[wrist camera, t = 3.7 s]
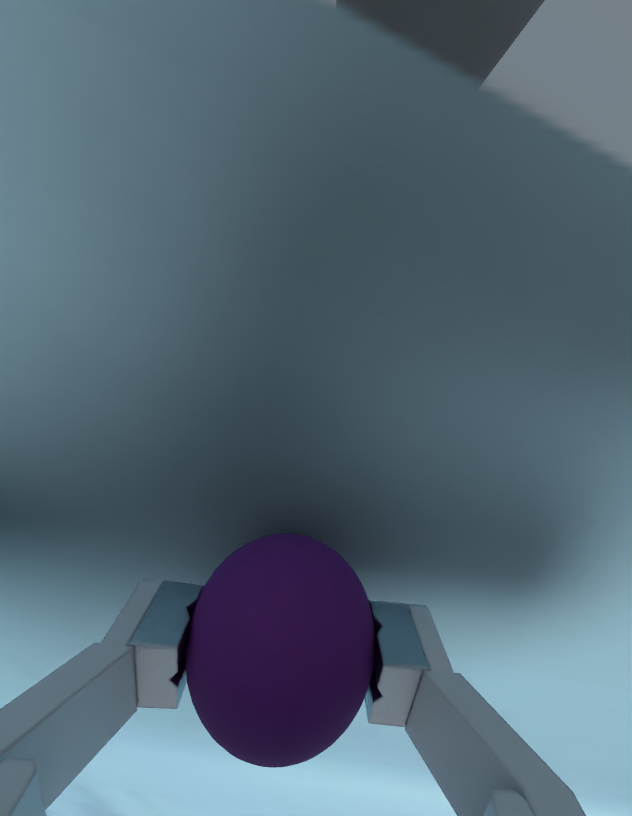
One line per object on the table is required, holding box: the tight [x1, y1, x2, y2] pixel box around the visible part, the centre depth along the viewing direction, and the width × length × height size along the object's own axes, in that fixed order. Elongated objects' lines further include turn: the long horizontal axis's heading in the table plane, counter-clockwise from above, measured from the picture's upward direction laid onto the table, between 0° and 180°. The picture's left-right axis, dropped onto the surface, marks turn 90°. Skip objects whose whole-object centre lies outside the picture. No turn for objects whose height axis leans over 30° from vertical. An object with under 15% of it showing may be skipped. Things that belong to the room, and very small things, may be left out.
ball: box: [185, 533, 375, 767], centre depth 8 cm, size 4×4×4 cm
